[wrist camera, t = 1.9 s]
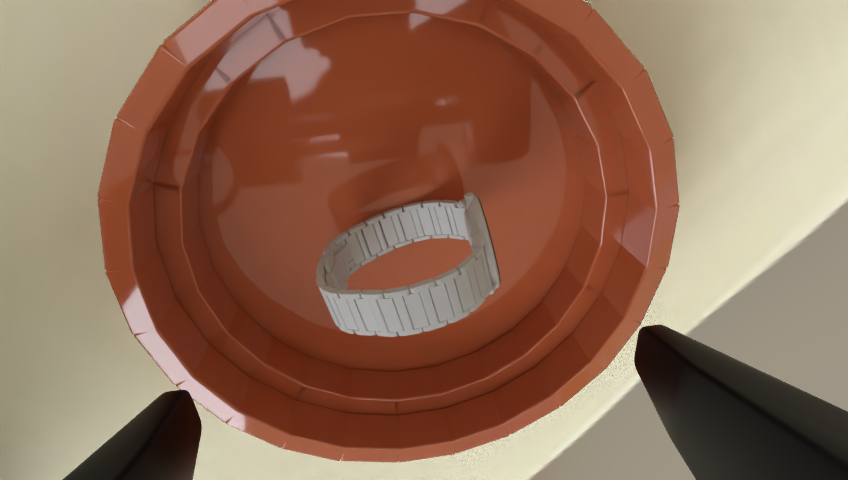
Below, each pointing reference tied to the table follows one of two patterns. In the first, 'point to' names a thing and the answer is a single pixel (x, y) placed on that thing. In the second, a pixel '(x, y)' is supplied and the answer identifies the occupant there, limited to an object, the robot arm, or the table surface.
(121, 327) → the table surface
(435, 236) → the wristwatch
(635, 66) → the dish
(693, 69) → the table surface
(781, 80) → the table surface
